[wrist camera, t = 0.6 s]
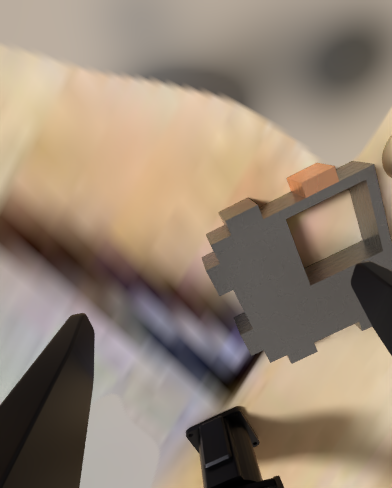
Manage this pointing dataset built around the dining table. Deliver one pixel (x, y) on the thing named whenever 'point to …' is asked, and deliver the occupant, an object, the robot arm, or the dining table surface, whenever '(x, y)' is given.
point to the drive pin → (388, 157)
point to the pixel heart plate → (297, 263)
